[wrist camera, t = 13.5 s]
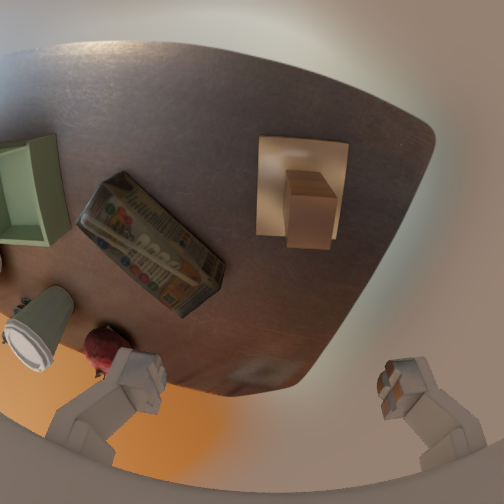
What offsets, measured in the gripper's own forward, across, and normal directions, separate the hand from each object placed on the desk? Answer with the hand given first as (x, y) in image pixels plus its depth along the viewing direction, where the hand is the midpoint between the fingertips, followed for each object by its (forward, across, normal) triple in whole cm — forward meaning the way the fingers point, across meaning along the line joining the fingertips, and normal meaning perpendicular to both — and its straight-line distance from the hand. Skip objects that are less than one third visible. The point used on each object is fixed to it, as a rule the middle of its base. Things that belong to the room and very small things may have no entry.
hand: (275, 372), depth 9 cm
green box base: (+27, +38, 0) cm, 46 cm away
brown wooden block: (+26, -4, +2) cm, 26 cm away
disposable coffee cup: (+26, +38, +22) cm, 51 cm away
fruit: (+26, +28, +30) cm, 49 cm away
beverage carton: (+27, +15, +9) cm, 32 cm away
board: (+26, -3, +2) cm, 27 cm away
